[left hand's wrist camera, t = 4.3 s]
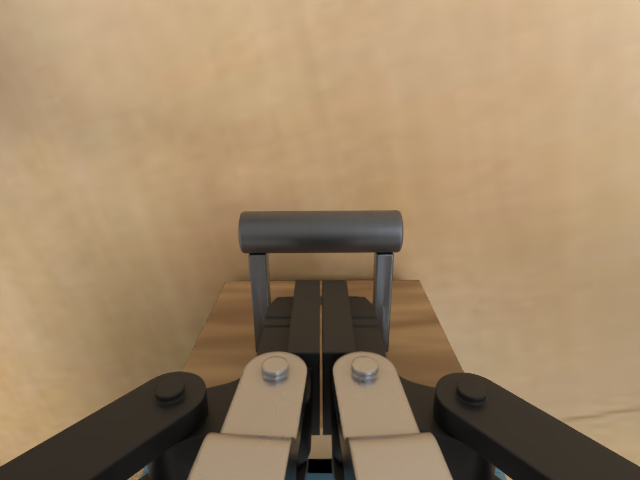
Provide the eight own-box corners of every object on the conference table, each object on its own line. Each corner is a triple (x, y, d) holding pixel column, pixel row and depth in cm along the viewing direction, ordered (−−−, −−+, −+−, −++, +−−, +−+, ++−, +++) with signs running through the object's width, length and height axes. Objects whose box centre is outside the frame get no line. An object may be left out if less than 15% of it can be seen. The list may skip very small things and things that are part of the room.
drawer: (216, 176, 19) (121, 258, 10) (427, 174, 19) (520, 256, 10) (253, 557, 28) (219, 780, 19) (397, 558, 28) (432, 782, 19)
